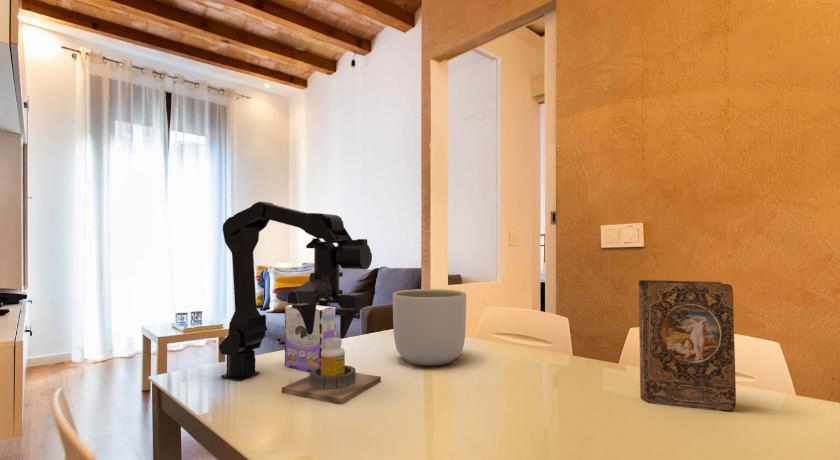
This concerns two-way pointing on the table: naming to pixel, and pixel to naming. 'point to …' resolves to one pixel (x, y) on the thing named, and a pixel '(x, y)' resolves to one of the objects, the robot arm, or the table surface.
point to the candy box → (307, 337)
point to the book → (687, 344)
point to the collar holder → (332, 386)
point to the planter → (429, 325)
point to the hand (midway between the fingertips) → (326, 336)
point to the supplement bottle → (332, 358)
